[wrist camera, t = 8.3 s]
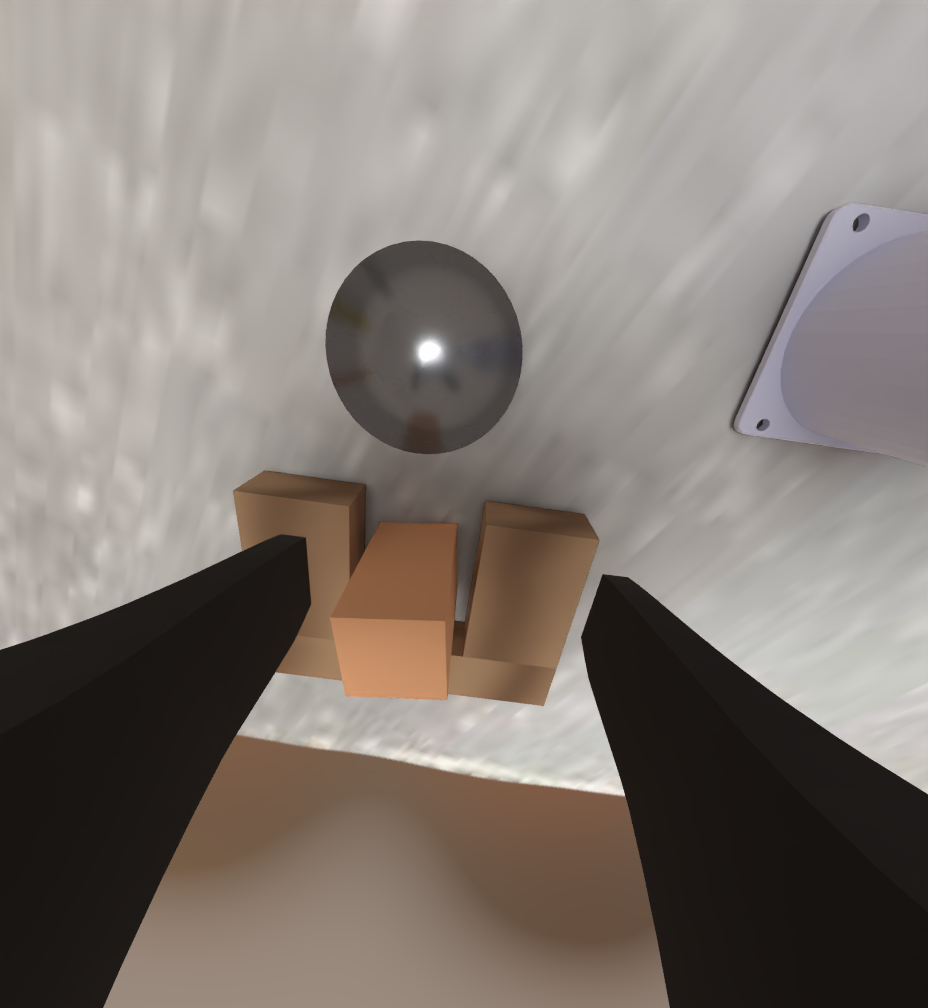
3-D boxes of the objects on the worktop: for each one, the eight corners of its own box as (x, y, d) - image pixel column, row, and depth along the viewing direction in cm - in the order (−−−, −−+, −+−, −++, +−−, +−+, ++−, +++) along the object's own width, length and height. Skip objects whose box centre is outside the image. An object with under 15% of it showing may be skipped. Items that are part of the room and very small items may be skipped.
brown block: (457, 523, 19) (445, 621, 13) (457, 586, 21) (447, 699, 14) (380, 522, 19) (329, 617, 13) (386, 584, 21) (345, 696, 14)
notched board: (584, 514, 18) (599, 540, 16) (537, 668, 23) (543, 705, 21) (264, 470, 18) (232, 490, 16) (282, 636, 23) (260, 670, 20)
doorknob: (523, 279, 14) (542, 257, 10) (497, 432, 17) (503, 465, 13) (368, 256, 14) (321, 224, 10) (366, 413, 17) (328, 441, 12)
